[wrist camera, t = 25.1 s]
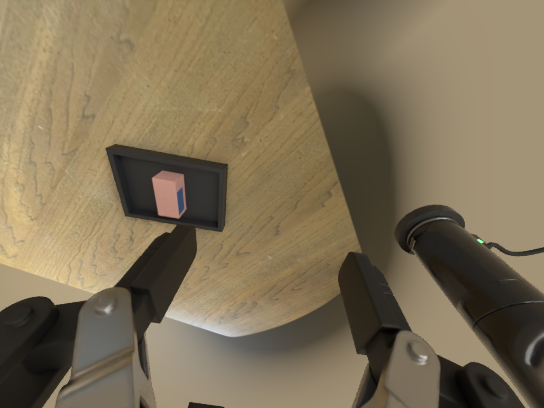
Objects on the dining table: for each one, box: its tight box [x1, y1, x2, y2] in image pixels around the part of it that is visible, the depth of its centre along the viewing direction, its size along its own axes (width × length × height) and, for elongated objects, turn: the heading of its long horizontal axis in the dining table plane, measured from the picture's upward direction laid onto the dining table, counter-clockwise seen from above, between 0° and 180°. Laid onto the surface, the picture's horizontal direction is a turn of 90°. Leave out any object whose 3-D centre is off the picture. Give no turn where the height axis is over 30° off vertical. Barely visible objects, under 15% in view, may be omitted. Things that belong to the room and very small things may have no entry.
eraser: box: [152, 171, 186, 219], centre depth 32 cm, size 4×7×3 cm, turn 170°
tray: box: [106, 144, 228, 232], centre depth 33 cm, size 18×13×2 cm
